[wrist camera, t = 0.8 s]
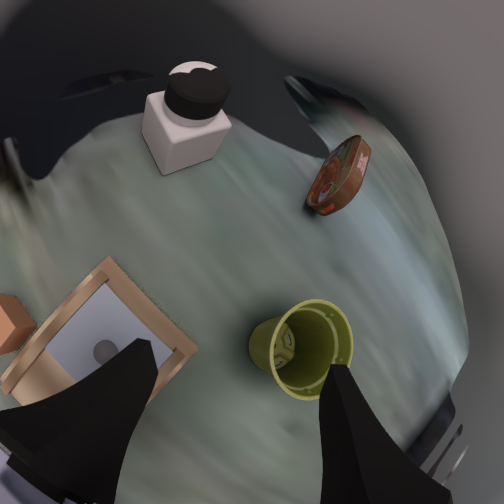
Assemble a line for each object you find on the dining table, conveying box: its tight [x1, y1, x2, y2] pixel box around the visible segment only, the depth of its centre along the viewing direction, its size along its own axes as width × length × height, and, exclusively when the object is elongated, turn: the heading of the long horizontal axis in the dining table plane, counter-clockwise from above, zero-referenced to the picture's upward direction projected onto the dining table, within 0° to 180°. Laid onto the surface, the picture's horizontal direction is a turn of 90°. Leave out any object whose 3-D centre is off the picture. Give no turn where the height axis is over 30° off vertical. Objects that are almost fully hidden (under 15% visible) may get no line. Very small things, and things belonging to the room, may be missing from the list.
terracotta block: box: [0, 293, 37, 355], centre depth 17 cm, size 4×4×6 cm
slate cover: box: [45, 283, 173, 382], centre depth 19 cm, size 8×8×4 cm
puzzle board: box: [0, 256, 199, 406], centre depth 20 cm, size 18×12×4 cm, turn 137°
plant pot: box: [248, 299, 353, 400], centre depth 27 cm, size 9×9×9 cm
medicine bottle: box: [142, 62, 232, 175], centre depth 26 cm, size 7×7×12 cm
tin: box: [307, 135, 371, 216], centre depth 36 cm, size 15×3×8 cm, turn 149°
